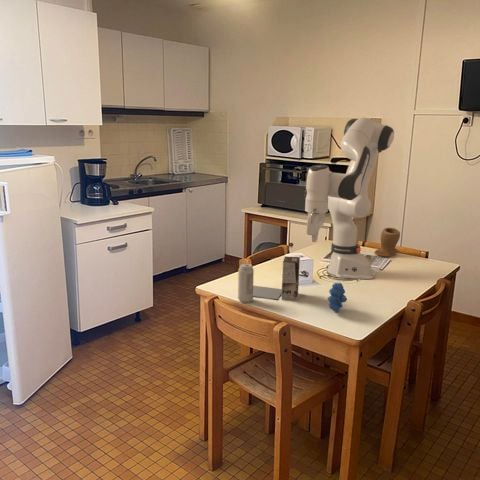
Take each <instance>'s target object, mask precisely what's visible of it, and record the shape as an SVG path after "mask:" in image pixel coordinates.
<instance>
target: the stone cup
mask: <svg viewBox="0 0 480 480" xmlns="http://www.w3.org/2000/svg"><path fill="white" fill-rule="evenodd" d="M400 237H401V232H400V230H398V229H397V228H394V227H385V228H384V229H382V231H381V234H380V248H378V249H376V250H374V254H375V255H377V256H380V257H386V258H389V257H392V256H395V255H396V254H398V253H399V249H397V248H396V246H397V244H398V242H399V240H400Z"/></svg>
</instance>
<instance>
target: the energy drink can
mask: <svg viewBox="0 0 480 480" xmlns="http://www.w3.org/2000/svg"><path fill="white" fill-rule="evenodd" d="M254 272H255V271H254V268H253V265H252V264H251V263H241V264H240V265H239V268H238V271H237V273H238V275H237V277H238V279H237V280H238V281H237V282H238V285H237V286H238V287H237V288H238V289H237V291H238V292H237V299H238V301H239V302H240V303H243V304H248V303H251V302H252V301H253V299H254V297H253V286H254Z"/></svg>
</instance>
